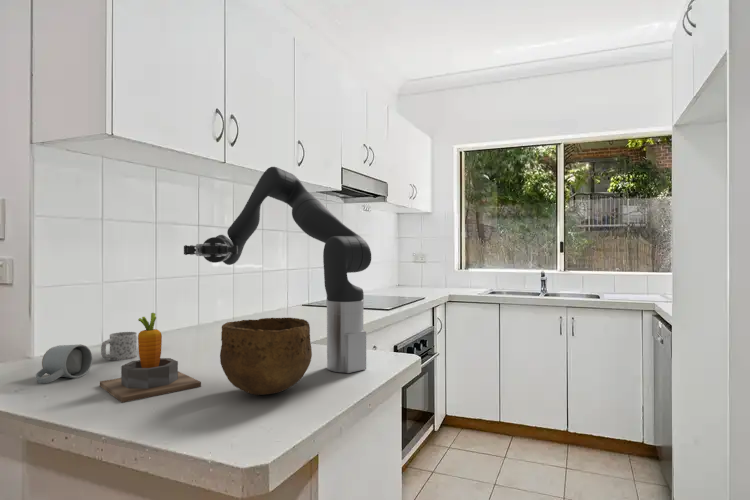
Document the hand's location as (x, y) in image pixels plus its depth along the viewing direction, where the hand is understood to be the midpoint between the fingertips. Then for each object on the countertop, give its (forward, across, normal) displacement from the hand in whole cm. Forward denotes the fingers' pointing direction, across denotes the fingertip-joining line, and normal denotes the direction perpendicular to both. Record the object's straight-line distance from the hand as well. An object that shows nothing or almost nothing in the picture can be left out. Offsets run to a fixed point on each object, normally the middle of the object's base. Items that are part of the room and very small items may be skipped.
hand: (207, 249), depth 131 cm
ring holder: (+23, -8, +30) cm, 39 cm away
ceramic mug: (+12, -31, +30) cm, 45 cm away
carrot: (+23, -8, +29) cm, 38 cm away
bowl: (+32, +18, +30) cm, 47 cm away
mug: (-7, -25, +30) cm, 40 cm away
